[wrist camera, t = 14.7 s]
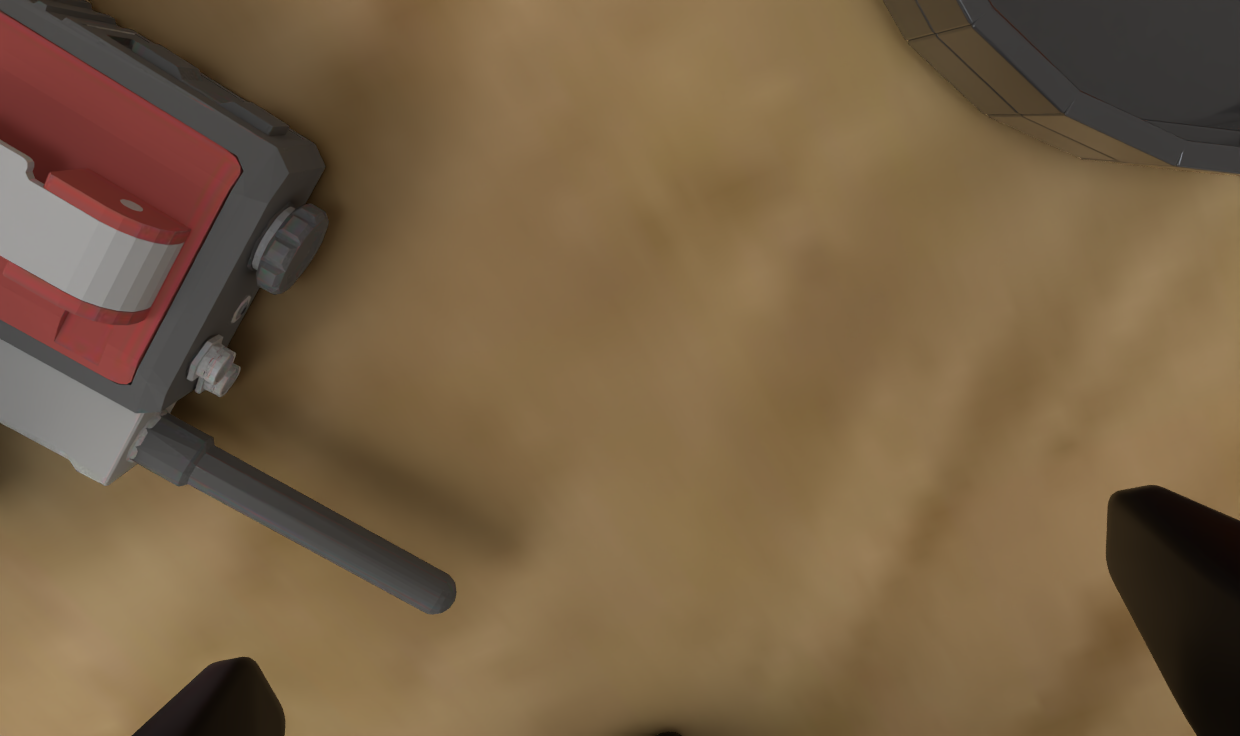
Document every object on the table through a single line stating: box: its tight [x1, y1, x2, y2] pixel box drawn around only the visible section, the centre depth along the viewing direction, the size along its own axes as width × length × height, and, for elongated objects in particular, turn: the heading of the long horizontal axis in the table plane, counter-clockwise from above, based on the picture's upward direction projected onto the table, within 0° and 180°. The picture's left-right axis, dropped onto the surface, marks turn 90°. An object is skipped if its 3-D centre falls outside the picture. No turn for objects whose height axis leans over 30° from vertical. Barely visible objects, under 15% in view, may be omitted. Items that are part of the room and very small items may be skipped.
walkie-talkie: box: [0, 0, 456, 614], centre depth 18 cm, size 9×4×20 cm
